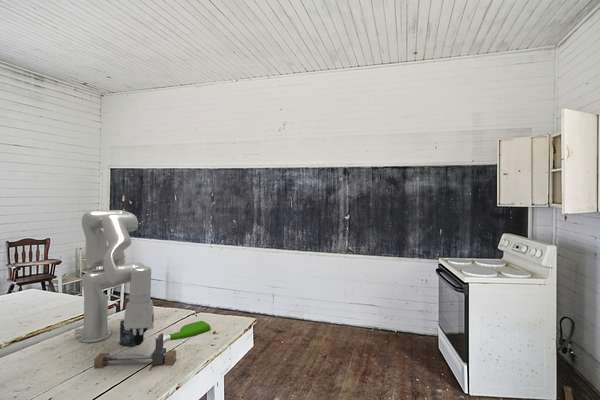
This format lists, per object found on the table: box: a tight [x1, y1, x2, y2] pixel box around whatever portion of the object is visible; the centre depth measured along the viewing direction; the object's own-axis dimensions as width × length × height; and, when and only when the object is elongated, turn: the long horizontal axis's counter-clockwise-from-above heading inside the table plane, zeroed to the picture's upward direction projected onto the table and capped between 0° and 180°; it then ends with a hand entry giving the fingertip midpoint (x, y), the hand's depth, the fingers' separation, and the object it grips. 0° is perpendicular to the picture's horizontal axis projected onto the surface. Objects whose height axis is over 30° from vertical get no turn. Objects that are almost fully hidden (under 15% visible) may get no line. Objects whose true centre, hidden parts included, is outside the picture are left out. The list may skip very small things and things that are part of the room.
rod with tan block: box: [93, 349, 177, 372], centre depth 128 cm, size 29×12×4 cm, turn 97°
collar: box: [151, 332, 167, 366], centre depth 129 cm, size 4×6×10 cm, turn 7°
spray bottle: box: [154, 320, 211, 344], centre depth 157 cm, size 3×11×24 cm
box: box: [119, 319, 140, 348], centre depth 146 cm, size 8×6×11 cm
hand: (138, 343), depth 128 cm, fingers closed
